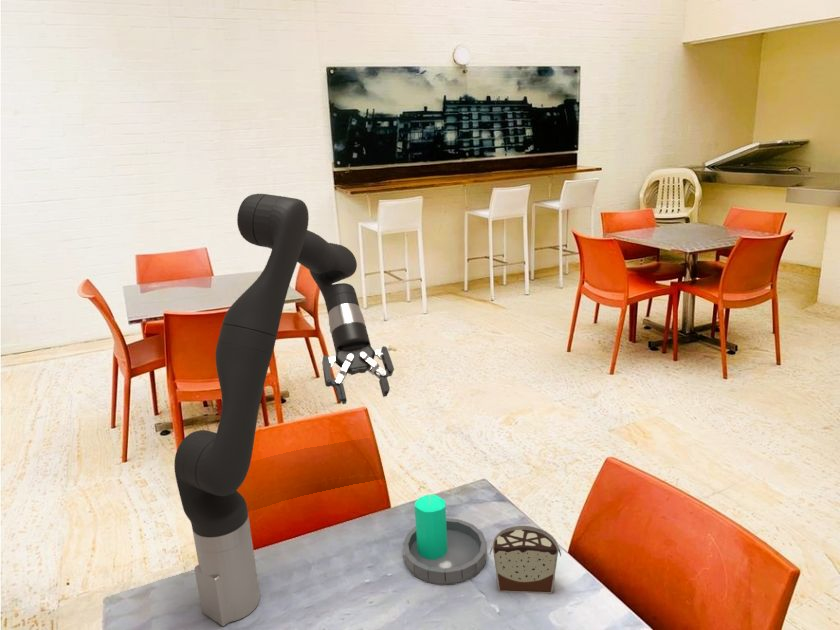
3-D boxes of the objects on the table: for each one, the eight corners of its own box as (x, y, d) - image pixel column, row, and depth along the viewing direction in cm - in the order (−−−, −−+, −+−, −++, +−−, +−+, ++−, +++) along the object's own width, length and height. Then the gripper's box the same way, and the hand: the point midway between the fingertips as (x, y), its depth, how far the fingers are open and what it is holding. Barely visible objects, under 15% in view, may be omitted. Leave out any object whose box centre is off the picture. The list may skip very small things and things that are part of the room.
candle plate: (458, 597, 106) (457, 584, 105) (387, 564, 115) (386, 551, 114) (501, 547, 118) (500, 535, 117) (434, 521, 127) (434, 509, 126)
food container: (556, 570, 111) (557, 524, 108) (560, 594, 105) (561, 546, 103) (490, 568, 113) (489, 522, 110) (490, 591, 107) (489, 544, 104)
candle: (430, 564, 113) (428, 509, 110) (411, 549, 118) (407, 496, 114) (454, 549, 117) (451, 496, 113) (433, 535, 121) (431, 483, 118)
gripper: (316, 325, 122) (332, 398, 115) (382, 316, 126) (402, 385, 119) (314, 342, 128) (329, 412, 121) (378, 333, 133) (396, 399, 126)
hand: (365, 398), depth 120 cm, fingers open, 8 cm apart
